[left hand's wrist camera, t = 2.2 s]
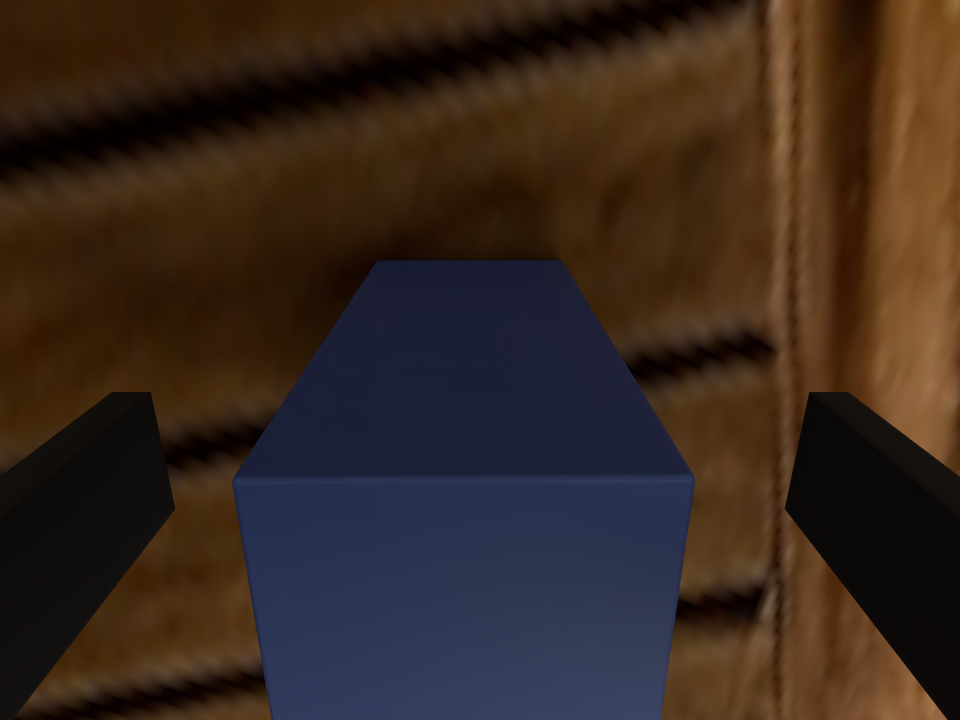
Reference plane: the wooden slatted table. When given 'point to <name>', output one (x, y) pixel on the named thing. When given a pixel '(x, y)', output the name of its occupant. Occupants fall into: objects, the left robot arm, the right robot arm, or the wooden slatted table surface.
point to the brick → (465, 509)
